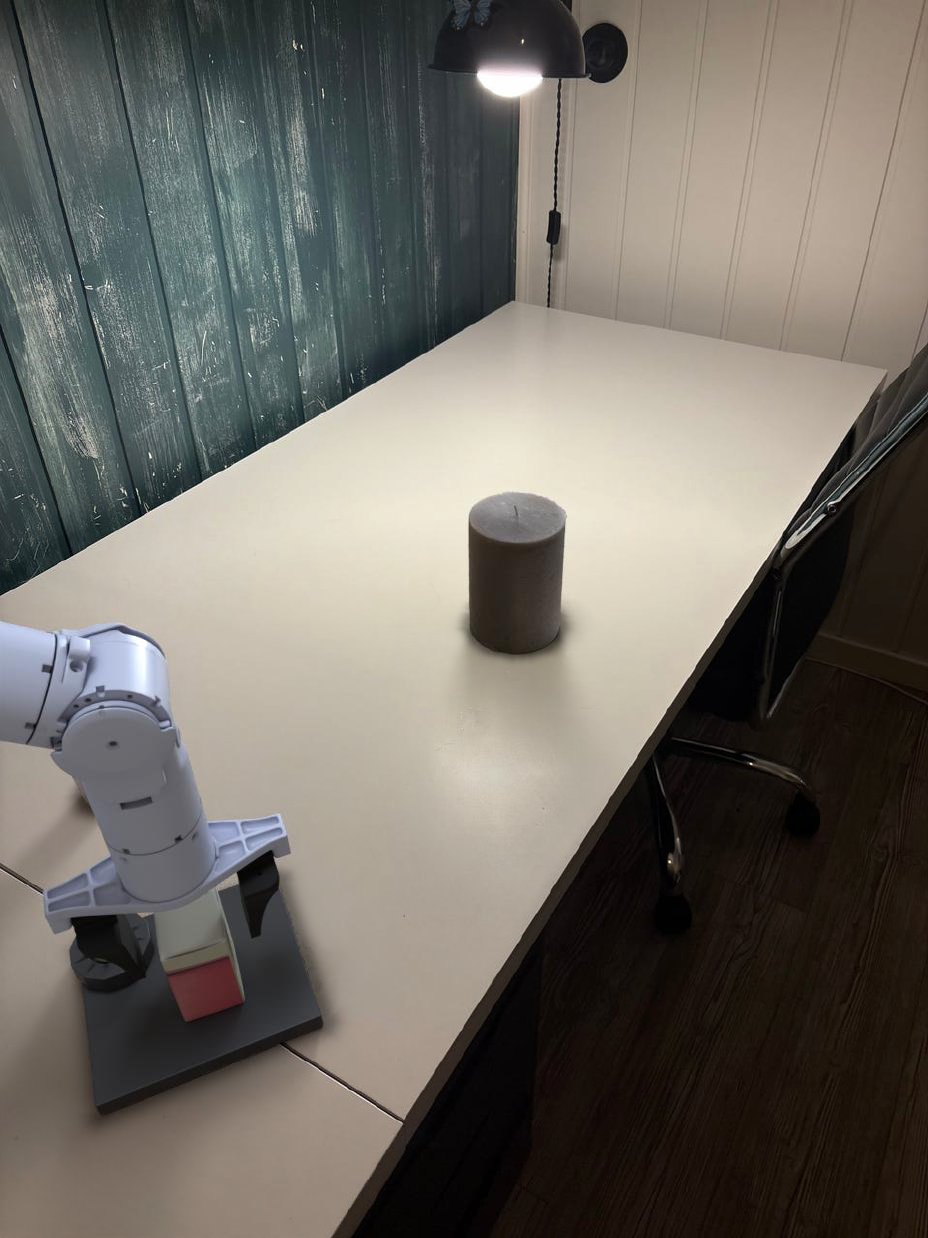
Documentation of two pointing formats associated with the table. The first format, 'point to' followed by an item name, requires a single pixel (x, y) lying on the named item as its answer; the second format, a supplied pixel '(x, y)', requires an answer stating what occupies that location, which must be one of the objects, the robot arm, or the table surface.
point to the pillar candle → (515, 571)
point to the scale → (178, 1050)
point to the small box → (199, 957)
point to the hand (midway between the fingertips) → (197, 945)
